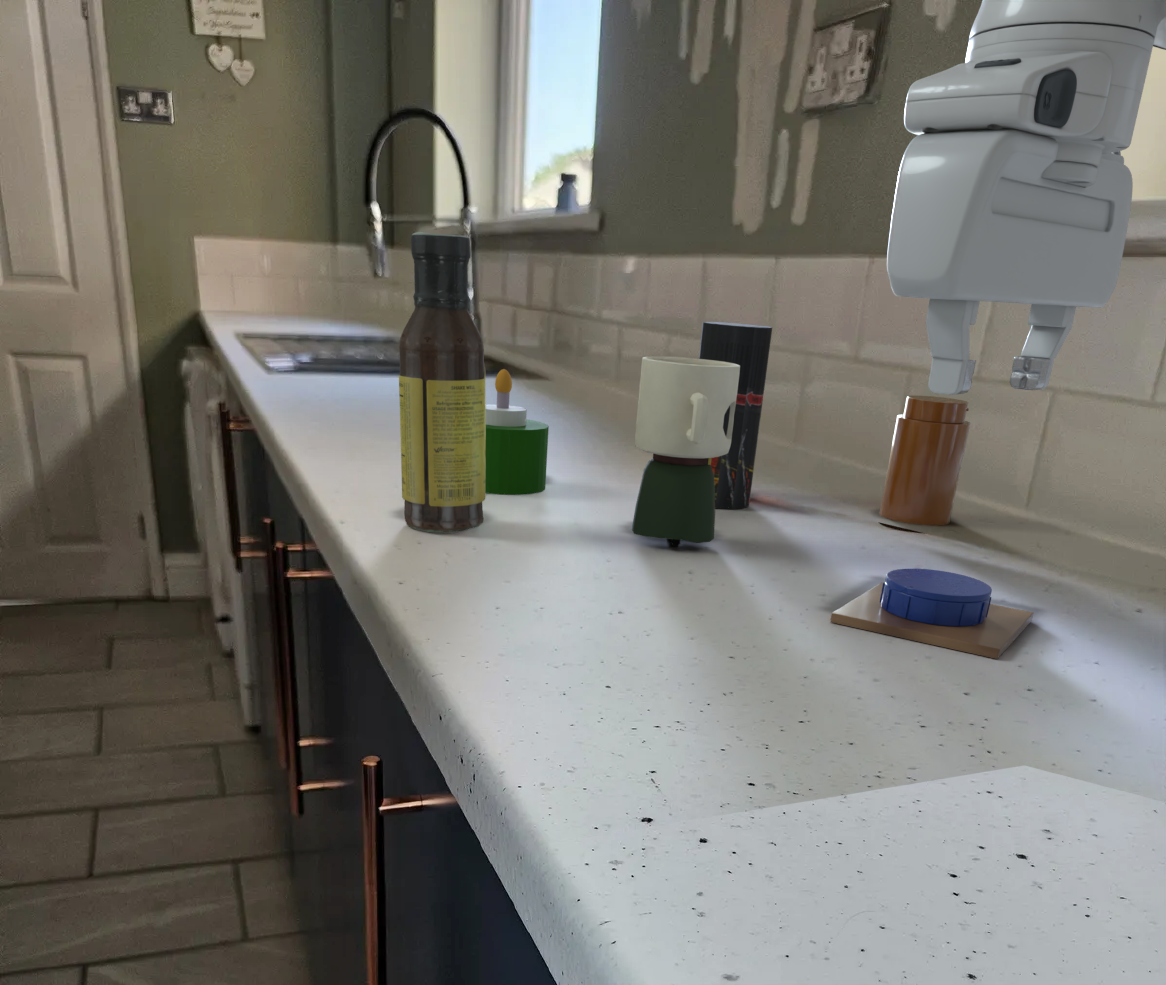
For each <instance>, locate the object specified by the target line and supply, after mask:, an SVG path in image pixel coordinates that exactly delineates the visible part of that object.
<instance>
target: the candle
mask: <svg viewBox="0 0 1166 985" xmlns="http://www.w3.org/2000/svg"><path fill="white" fill-rule="evenodd" d="M494 382H495V383H494V386H495V387H494V388H495V390H496V404H486V470H485V494H488V495H489V494H490V495H501V496H502V495H503V496H523V495H535V494H539V493H542V492H544V491H545V490H546V484H547V465H548V464H547V463H548V446H549V445H548V444H549V429H550V428H549V427H550V426H549V424H547V423H545V422H542V421H537V420H532V419H527V413H528V411H527V410H528V408H526V407H523V406H517V405H510V393H511V391H512V388H513V381H512V377H511V374H510V371H508V370H507V369H505V368H503V369H500V370H499V372H498V373H497V375H496V378H495V381H494Z"/></svg>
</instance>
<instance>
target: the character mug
mask: <svg viewBox="0 0 1166 985" xmlns="http://www.w3.org/2000/svg"><path fill="white" fill-rule="evenodd" d="M640 365H641V366H640V378H639V388H638V399H637V410H636V411H637V412H636V423H635V435H634V447H636V448H637V449H639V450H641V451H643V452H645V453H648V454H652V458H651V459H649V460H648V462H647V463H646V465H645V467H644V469H643V472H642V476H641V480H640V485H639V490H638V494H637V498H636V501H635V502H636V503H635V506H634V514H633V518H632V523H631V524H632V525H631V531H632V533H633V534H634V535H638V536H641V537H647V538H655V539H667V540H671V545H672V546H673V547H678V546H679V545H680V543H681V541H683V542H689V543H693V544H694V543H695V544H703V543H710V542H711V541H713V540H714V539H715V527H716V508H715V486H714V473H713V470H712V467H711V466H710V465H711V458H714V457H719V456H722V455H725V454H727V453H728V452H729V449H730V446H731V439H732V430H733V421H734V413H735V406H736V398H737V390H738V382H739V373H740V365H737V364H734V363H729V362H722V361H715V360H705V359H699V358H693V357H684V356H667V355H666V356H664V355H663V356H662V355H652V356H643V357H642V359H641V364H640Z"/></svg>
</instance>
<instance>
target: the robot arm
mask: <svg viewBox="0 0 1166 985" xmlns="http://www.w3.org/2000/svg"><path fill="white" fill-rule="evenodd" d="M1153 48H1158V49H1160V50H1164V51H1166V0H982V1H981V4H980V7H979V9H978V12H977V14H976V17H975V19H974V21H973V23H972V26H971V29H970V33H969V37H968V45H967V49H966V54H965V61H964V62H961V63H959V64H956V65H954V66H952V67H949V68H947V69H944V70H942V71H939V72H937V73H934V74H931V75H928V76H925V77H922V78H920V79H917V80H915V81H914V82H913V83H912V84H911V85H910V86H909V89H908V91H907V95H906V100H905V105H904V112H903V113H904V114H903V123H904V128H905V129H906V131H908V132H909V133H911V134H914V135H915V137H913V139H911V141H910V142H909V144H908V145H907V147H906V148H905V151H904V153H903V156H902V159H901V162H900V166H899V171H898V175H897V179H896V180H897V181H896V187H895V191H894V192H895V193H894V199H893V206H892V213H891V220H890V228H889V235H888V245H887V254H886V270H887V275H888V279H889V284H890V288H891V290H892V293H893V294H894V296H896V297H903V298H912V299H913V298H915V299H928V300H929V301H928V306H927V312H926V317H925V318H926V319H925V326H926V333H927V338H928V343H929V344H928V345H929V349H930V356H931V358H932V360H931V364H930V365H931V366H930V372H929V378H928V383H927V385H928V390H929V391H930V392H931V393H932V394H937V395H948V396H956V395H964V394H967V393H969V391H970V390H971V388H972V385H973V379H972V377H973V376H974V374H975V368H976V363H977V360H976V359H970V326H975V325H976V323H977V317H978V312H979V307H980V302H989V303H1006V304H1024V305H1030V310H1029V314H1028V320H1027V325H1028V326H1031V327H1030V329H1029V332H1028V335H1027V336H1026V340H1025V343H1024V345H1023V348H1022V350H1021V354H1020V355H1019V356H1017V355H1015V356H1014V357H1013V362H1012V366H1011V369H1012V370H1011V375H1010V376H1009V385H1010V387H1011V388H1012V389H1015V390H1024V391H1042V390H1045V389H1046V388H1047V387H1048V385H1049V384H1050V380H1051V376H1052V375H1051V374H1052V371H1053V365H1054V361H1055V359H1056V358H1057V356H1058V354H1059V352H1060V350H1061V349H1062V347H1063V345H1064V343H1065V341H1066V339H1067V338H1068V335H1069V334H1070V332H1071V330H1072V327H1073V323H1074V319H1075V315H1076V311H1077V308H1093V309H1094V308H1096V309H1100V308H1104V307H1105V306H1106V305H1107V303H1108V302H1109V301H1110V298H1111V297H1112V295H1113V293H1114V291H1115V289H1116V286H1117V284H1118V280H1119V276H1120V270H1121V265H1122V260H1123V255H1124V250H1125V245H1126V239H1127V233H1128V227H1129V221H1130V216H1131V215H1130V214H1131V207H1132V200H1133V187H1134V186H1133V184H1134V182H1133V175H1132V172H1131V169H1130V168H1129V167H1128V166H1127V165H1126V164H1125V157H1124V156H1123V155H1122V153H1121V152H1122V151H1125V150H1126V149H1128V148H1129V147H1130V146H1131V144H1132V140H1133V135H1134V130H1135V126H1136V122H1137V119H1138V113H1139V110H1140V104H1141V101H1142V97H1143V91H1144V87H1145V84H1146V79H1147V75H1148V74H1147V73H1148V70H1149V66H1150V61H1151V57H1152V56H1151V55H1152V52H1153Z"/></svg>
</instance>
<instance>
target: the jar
mask: <svg viewBox="0 0 1166 985" xmlns="http://www.w3.org/2000/svg"><path fill="white" fill-rule="evenodd" d="M967 412H969V401H967V400H963V399H958V398H950V397H944V396H943V397H942V396H934V395H933V396H932V395H908V396H906V399H905V406H904V411H903V414H898V415H896V422H895V426H894V433H893V437H892V444H891V448H890V454H889V460H888V465H887V470H886V474H885V475H886V476H885V481H884V486H883V492H882V497H881V503H880V509H879V515H880V516H881V517H882V518H885V519H888V520H892V521H896V522H900V523H905V524H912V525H921V526H945V525H948V524H950V523H951V518H952V514H953V508H954V503H955V499H956V493H957V490H958V486H959V485H958V484H959V480H960V476H961V471H962V467H963V466H962V465H963V461H964V456H965V452H966V446H967V442H968V437H969V433H970V428H971V424H972V423H971V422H970V421H967V420H966V417H967V414H968V413H967ZM878 524H879V525H881V526H883V527H885V528H888V529H892V530H897V531H901V532H905V533H906V532H907V533H912V534H913V533H914V534H924V535H927V534H928V533H927V532H922V531H918V530H915V529H909V528H906V527H901V526H897V525H896V526H895V525H892V524H888V523H884V522H879V521H878Z"/></svg>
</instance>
